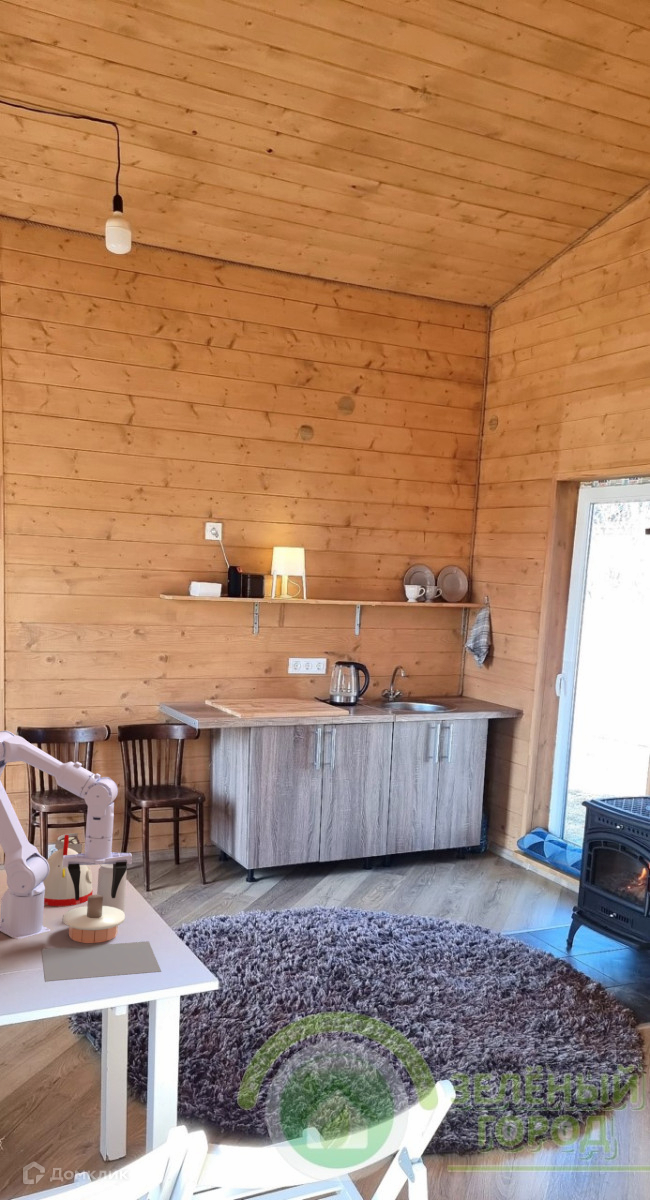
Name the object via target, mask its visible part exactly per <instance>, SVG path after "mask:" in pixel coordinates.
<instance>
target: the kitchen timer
mask: <svg viewBox="0 0 650 1200" xmlns="http://www.w3.org/2000/svg"><path fill="white" fill-rule="evenodd" d="M64 835H65V834H64ZM68 844H69V835H65V838H64V847H63V848H62V849H59V850H58V849H57V850H55V851H54V852H53V853H52V854H51V855H50V856H49V857H48V858H47V859H46V860H47V862H48V864H49V868H50V869H49V874H48V876H47V878H46V879H45V880H44V882H43V883H44V886H45V895H44V906H48V905H49V906H51V907H69V906H78V905H81V904H84V903H86V901H87V902H88V896H91V895H93V875H92V869H91V865H80V871H81V873H80V883H79V900H75V890H74V884H73V881H72V878H71V876H70V873H69V870H68V867H63V855H74V854H78V853H77V852H76V851H74V850H73V849H70V848H68Z"/></svg>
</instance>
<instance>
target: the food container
mask: <svg viewBox="0 0 650 1200" xmlns="http://www.w3.org/2000/svg"><path fill="white" fill-rule="evenodd" d="M78 834H79V833H78V832H74V833H65V834H62V835H60V836H58V837H57V839H56V842H55V845H54V848H55V849H56V850H57V851H58V850H59V849H62V848H63V847H64V838H65V835H69V844H68V848H70V849H73V850H74V851H76V852H77V853H78V854H81V853H82V850H83V843H80V840H79V838H78V837H79V836H78Z"/></svg>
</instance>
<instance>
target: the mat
mask: <svg viewBox="0 0 650 1200" xmlns="http://www.w3.org/2000/svg"><path fill="white" fill-rule="evenodd" d="M41 957H42V965H43V973H44V974H43V975H44V981H45V982H55V981H67V980H77V979H78V980H79V979H91V978H100V977H101V978H102V977H103V978H104V977H112V976H113V977H114V976H125V975H138V974H148V973H161V972H162V970H161V966H160V965H159V962H158V959H157V957H156V955H155V953H154V951H153V948H152V945H151V943H150V941H136V942H135V941H133V942H123V943H122V942H121V943H107V944H93V945H92V944H91V945H81V946H67V947H66V946H65V947H52V948H50V947H49V948H41Z"/></svg>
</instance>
